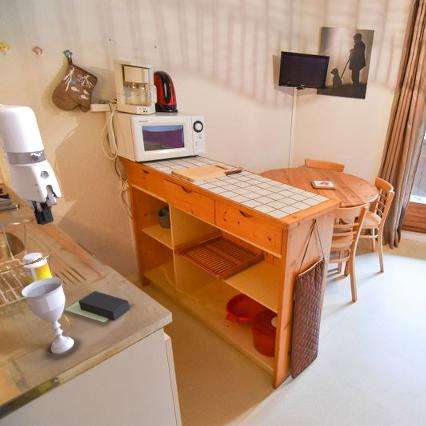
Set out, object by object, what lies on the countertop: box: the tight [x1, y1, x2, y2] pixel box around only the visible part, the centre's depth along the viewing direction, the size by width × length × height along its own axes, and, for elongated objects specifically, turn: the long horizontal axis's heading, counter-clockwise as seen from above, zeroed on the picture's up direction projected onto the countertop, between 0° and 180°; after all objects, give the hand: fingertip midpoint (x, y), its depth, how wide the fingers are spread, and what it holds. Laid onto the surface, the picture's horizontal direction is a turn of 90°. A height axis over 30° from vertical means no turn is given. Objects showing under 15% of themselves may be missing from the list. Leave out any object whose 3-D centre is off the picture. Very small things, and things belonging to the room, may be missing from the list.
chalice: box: [21, 276, 75, 354], centre depth 74 cm, size 7×7×18 cm
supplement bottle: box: [22, 252, 53, 285], centre depth 97 cm, size 6×6×10 cm
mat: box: [64, 292, 110, 323], centre depth 90 cm, size 14×8×1 cm, turn 73°
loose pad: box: [78, 290, 112, 315], centre depth 90 cm, size 6×5×3 cm
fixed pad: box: [95, 295, 130, 321], centre depth 88 cm, size 6×5×3 cm
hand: (45, 222), depth 87 cm, fingers closed
